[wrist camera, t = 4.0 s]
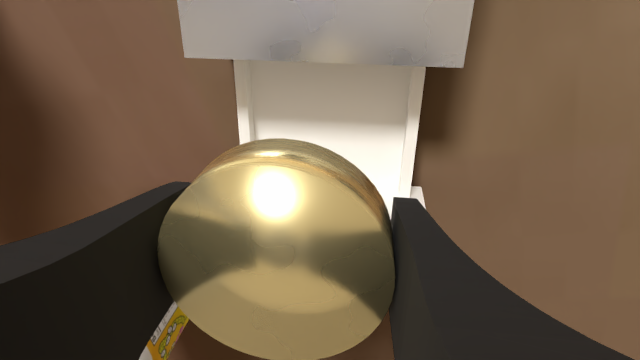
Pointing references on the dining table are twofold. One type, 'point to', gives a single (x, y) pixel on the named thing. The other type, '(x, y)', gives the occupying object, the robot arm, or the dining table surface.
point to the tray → (338, 114)
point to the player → (328, 31)
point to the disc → (280, 251)
